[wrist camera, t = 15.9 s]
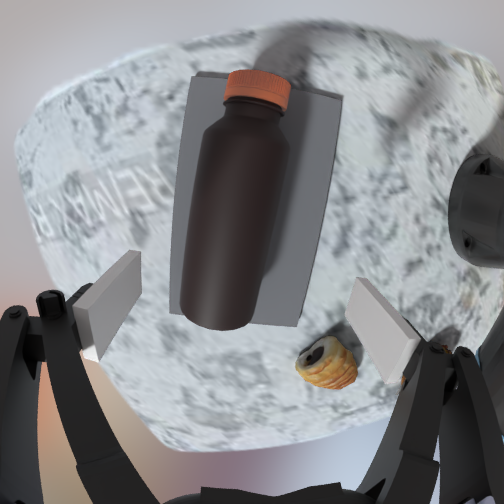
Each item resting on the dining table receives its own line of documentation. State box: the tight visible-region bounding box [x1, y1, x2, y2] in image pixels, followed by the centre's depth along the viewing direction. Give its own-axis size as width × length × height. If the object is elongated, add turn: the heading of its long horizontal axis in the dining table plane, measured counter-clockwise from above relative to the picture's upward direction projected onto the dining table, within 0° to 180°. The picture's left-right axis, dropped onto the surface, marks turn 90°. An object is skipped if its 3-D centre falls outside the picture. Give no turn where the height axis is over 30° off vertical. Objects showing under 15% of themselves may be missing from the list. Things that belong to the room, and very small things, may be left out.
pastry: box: [296, 336, 358, 389], centre depth 31 cm, size 9×7×4 cm
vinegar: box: [179, 69, 291, 331], centre depth 21 cm, size 7×7×20 cm
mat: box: [170, 76, 342, 327], centre depth 25 cm, size 14×24×1 cm, turn 172°
